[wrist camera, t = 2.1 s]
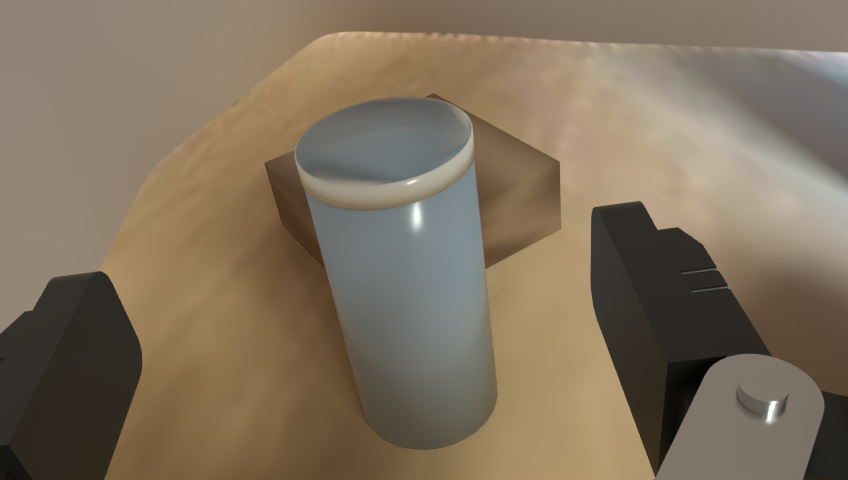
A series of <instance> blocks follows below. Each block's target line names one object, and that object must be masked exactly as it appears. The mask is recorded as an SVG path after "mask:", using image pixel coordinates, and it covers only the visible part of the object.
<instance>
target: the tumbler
mask: <svg viewBox="0 0 848 480" xmlns="http://www.w3.org/2000/svg"><path fill="white" fill-rule="evenodd" d="M474 156H475V147H474V137H473V127H472V123H471V120H470V118H469V117H468V116H467V114H466V113H464V112H463V111H462V110H461V109H459V108H458V107H456V106H454V105H452V104H450V103H447V102H444V101H441V100H436V99H432V98H425V97H389V98H381V99H375V100H370V101H365V102H361V103H358V104H354V105H351V106H348V107H345V108H343V109H340V110H338V111H335V112H333V113H331V114H329V115H327V116H325V117H323V118H322V119H320V120H319V121H317V122H316V123H314V124H313V125H312V126H310V127H309V128H308V129H307V130H306V131H305V132H304V133H303V134H302V136H301V137H300V138H299V140H298V142H297V144H296V146H295V150H294V157H295V161H296V165H297V169H298V172H299V176H300V180H301V183H302V185H303V187H304V189H305V193H306V196H307V200H308V204H309V208H310V212H311V215H312V219H313V223H314V227H315V231H316V234H317V238H318V242H319V246H320V249H321V253H322V257H323V261H324V265H325V268H326V272H327V276H328V280H329V284H330V287H331V291H332V295H333V299H334V302H335V306H336V310H337V314H338V318H339V321H340V325H341V329H342V333H343V337H344V340H345V344H346V348H347V352H348V355H349V359H350V363H351V367H352V371H353V374H354V378H355V382H356V386H357V390H358V393H359V397H360V401H361V405H362V408H363V412H364V416H365V418H366V420H367V422H368V424H369V425H370V427H371V428H372V429H373V430H374V431H375V432H376V433H377V434H378V435H379V436H380V437H382V438H383V439H385V440H387V441H388V442H390V443H393V444H395V445H397V446H401V447H405V448H411V449H435V448H441V447H445V446H449V445H452V444H455V443H457V442H459V441H462V440H463V439H465V438H467V437H469V436H470V435H472V434H473V433H474V432H476V431H477V430H478V429H479V428H480V427H481V426H483V424H484V423H485V422H486V421H487V420H488V418H489V417H490V415H491V413H492V412H493V409H494V407H495V404H496V400H497V392H498V391H497V380H496V370H495V361H494V351H493V341H492V331H491V321H490V311H489V301H488V291H487V281H486V271H485V261H484V251H483V242H482V232H481V222H480V212H479V202H478V192H477V182H476V172H475V162H474Z"/></svg>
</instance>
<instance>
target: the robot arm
mask: <svg viewBox="0 0 848 480" xmlns="http://www.w3.org/2000/svg"><path fill="white" fill-rule="evenodd" d="M591 293H592V300H593V306H594V310H595V314H596V318H597V321H598V323H599V326H600V329H601V331H602V334H603V337H604V340H605V342H606V345H607V348H608V350H609V353H610V356H611V359H612V361H613V364H614V367H615V369H616V372H617V375H618V378H619V380H620V383H621V386H622V388H623V391H624V394H625V396H626V399H627V402H628V405H629V407H630V410H631V413H632V415H633V418H634V421H635V424H636V426H637V429H638V432H639V434H640V437H641V440H642V442H643V445H644V448H645V451H646V453H647V456H648V459H649V461H650V464H651V467H652V470H653V472H654V475H655V479H654V480H848V396H842V395H836V394H832V393H828V392H824V391H821V390H820V389H819V387H818V386H817V384H816V383H815V382H814V381H813V380H812V378H811V377H809V376H808V375H807V374H806V373H805V372H804V371H802V370H801V369H799V368H797V367H796V366H794V365H792V364H790V363H788V362H786V361H783V360H781V359H778V358H775V357H772V356H771V354H770V353H769V351H768V349H767V348H766V346H765V345H764V343H763V341H762V340H761V338H760V336H759V335H758V333H757V332H756V330H755V328H754V327H753V325H752V324H751V322H750V320H749V319H748V317H747V315H746V314H745V312H744V311H743V309H742V307H741V306H740V304H739V303H738V301H737V299H736V298H735V296H734V294H733V293H732V291H731V290H730V289H729V290H728V287H727V283H726V282H725V280H724V278H723V277H722V275H721V274H720V272H719V271H717V270H716V265H715V264H714V262H713V261H712V259H711V257H710V256H709V254H708V253H707V251H706V249H705V248H704V246H703V245H702V244H701V243H699V242H698V241H697V240H695V239H694V238H692V237H691V236H689V235H688V234H687V233H685V232H684V231H682V230H681V229H679V228H678V227H677V228H669V229H662V230H657V228H656V226H655V225H654V223H653V221H652V219H651V217H650V216H649V214H648V212H647V210H646V208H645V206H644V205H643V203H642V202H640V201H637V202H630V203H622V204H615V205H607V206H600V207H594V208H593V210H592V217H591ZM141 370H142V352H141V347H140V343H139V340H138V337H137V335H136V333H135V331H134V329H133V327H132V324H131V322H130V320H129V318H128V316H127V314H126V312H125V310H124V307H123V305H122V303H121V301H120V299H119V297H118V295H117V293H116V290H115V288H114V286H113V284H112V282H111V280H110V279H109V277H108V276H107V275H106V274H105V273H103V272H101V271H98V272H91V273H83V274H76V275H68V276H61V277H55V278H53V279H51V280H50V281H49V283H48V284H47V286H46V288H45V290H44V291H43V293H42V295H41V297H40V298H39V300H38V302H37V304H36V306H35V307H34V309H33V311H27V312H24V313H23V314H22V315H21V316H20V317H19V318H17V319H16V320H15V321H14V322H13V323H12V324H11V325H10V326H9V327H8V328H6V329H5V330H4V331H3V332H2V333H1V334H0V480H104V479H105V476H106V473H107V470H108V467H109V464H110V462H111V459H112V456H113V453H114V450H115V447H116V444H117V442H118V439H119V436H120V433H121V430H122V427H123V424H124V422H125V419H126V416H127V413H128V410H129V407H130V404H131V402H132V399H133V396H134V393H135V390H136V387H137V384H138V382H139V379H140V375H141Z"/></svg>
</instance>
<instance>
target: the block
mask: <svg viewBox="0 0 848 480" xmlns="http://www.w3.org/2000/svg"><path fill="white" fill-rule="evenodd" d="M425 98H432V99H436V100H441V101H444V102H447V103H450V104H452V103H451V102H449V101H447V100H445V99H443V98H441V97H440V96H438V95H436V94H431V95H429V96H426V97H425ZM452 105H454V104H452ZM454 106H456V105H454ZM456 107H458V106H456ZM458 108H459V109H461V110H462V111H463V112H464V113H466V114H467V116H468V117H469V118H470V120H471V123H472V127H473V137H474V147H475V156H474V162H475V172H476V182H477V192H478V202H479V212H480V222H481V232H482V242H483V251H484V261H485V269H486V268H488V267H490V266H491V265H493V264H495V263H497V262H499V261H501V260H503V259H505V258H506V257H508V256H510V255H512V254H514V253H516V252H518V251H519V250H521V249H523V248H525V247H527V246H529V245H531V244H533V243H534V242H536V241H538V240H540V239H542V238H544V237H546V236H548V235H549V234H551V233H553V232H555V231H557V230H559V229H561V203H560V162H559V161H557V160H555V159H554V158H552V157H550V156H548V155H546V154H544V153H542V152H541V151H539V150H537V149H535V148H533V147H531V146H530V145H528V144H526V143H524V142H522V141H520V140H519V139H517V138H515V137H513V136H511V135H509V134H508V133H506V132H504V131H502V130H500V129H498V128H497V127H495V126H493V125H491V124H489V123H487V122H486V121H484V120H482V119H480V118H478V117H476V116H474V115H473V114H471V113H469V112H467V111H465V110H463V109H462V108H460V107H458ZM264 164H265V167H266V170H267V174H268V177H269V181H270V184H271V187H272V191H273V194H274V198H275V201H276V204H277V208H278V211H279V214H280V218H281V221H282V224H283V225H284V226H285V227H286V228H287V229H288V230H289V231H290V232H291V233H292V234H293V235H294V236H295V237H296V238H297V239H298V241H299V242H300V243H301V244H302V245H303V246H304V247H305V248H306V249H307V250H308V251H309V252H310V253H311V254H312V255H313V256H314V257H315V258H316V259H317V260H318V261H319V262H320V263H321V264H322V266H323V267H324V268H325V265H324V261H323V257H322V253H321V249H320V246H319V242H318V238H317V234H316V231H315V227H314V223H313V219H312V215H311V212H310V208H309V204H308V200H307V196H306V193H305V189H304V187H303V185H302V183H301V180H300V176H299V172H298V169H297V165H296V161H295V157H294V151H292V152H290V153H287V154H285V155H282V156H280V157H278V158H275V159H273V160H270V161H268V162H265V163H264ZM325 269H326V268H325Z"/></svg>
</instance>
